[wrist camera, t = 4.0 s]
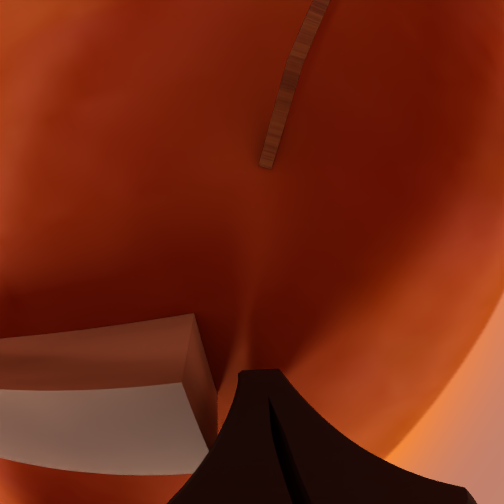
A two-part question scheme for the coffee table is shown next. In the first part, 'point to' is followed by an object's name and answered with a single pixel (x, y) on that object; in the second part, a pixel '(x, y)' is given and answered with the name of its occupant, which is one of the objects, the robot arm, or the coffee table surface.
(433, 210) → the coffee table surface
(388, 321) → the coffee table surface
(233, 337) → the coffee table surface
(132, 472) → the beige rectangular block
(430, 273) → the coffee table surface
